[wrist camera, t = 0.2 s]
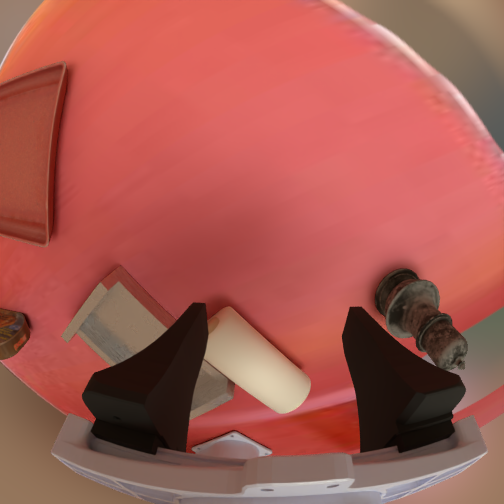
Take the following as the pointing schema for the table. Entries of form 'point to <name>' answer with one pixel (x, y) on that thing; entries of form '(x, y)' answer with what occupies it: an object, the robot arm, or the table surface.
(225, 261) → the table surface
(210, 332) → the roll
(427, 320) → the rusty metal finial
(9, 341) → the tin
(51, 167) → the plant saucer
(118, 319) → the cradle
